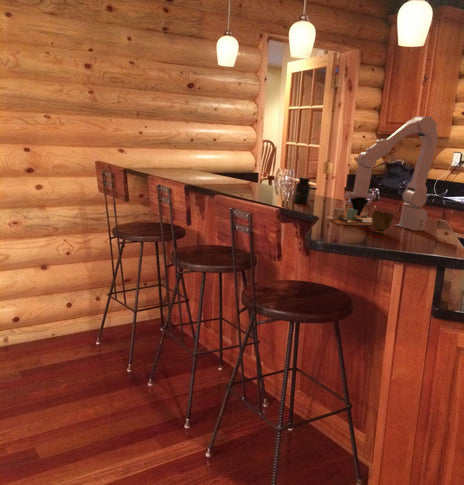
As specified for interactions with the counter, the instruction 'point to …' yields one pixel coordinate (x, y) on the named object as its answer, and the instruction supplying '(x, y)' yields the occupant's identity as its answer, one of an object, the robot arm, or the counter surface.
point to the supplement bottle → (302, 191)
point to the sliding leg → (352, 214)
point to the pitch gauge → (343, 220)
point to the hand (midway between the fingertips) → (356, 216)
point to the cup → (381, 221)
